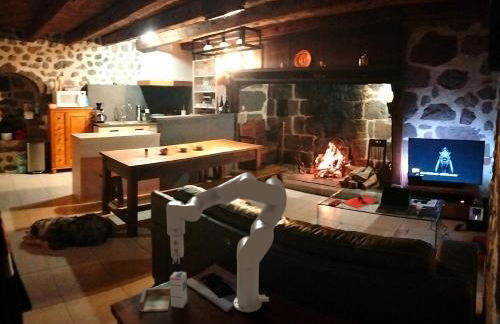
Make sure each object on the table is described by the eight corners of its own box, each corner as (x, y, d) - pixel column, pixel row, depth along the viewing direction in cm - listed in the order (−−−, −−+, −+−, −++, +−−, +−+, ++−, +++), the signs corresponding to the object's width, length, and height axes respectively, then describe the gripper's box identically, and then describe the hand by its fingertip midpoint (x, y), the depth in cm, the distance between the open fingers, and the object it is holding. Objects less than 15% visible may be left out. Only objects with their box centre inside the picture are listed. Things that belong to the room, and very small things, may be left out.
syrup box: (183, 308, 178) (182, 278, 175) (170, 306, 179) (169, 276, 176) (187, 301, 183) (187, 271, 180) (175, 299, 184) (174, 270, 181)
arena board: (170, 295, 187) (170, 287, 186) (168, 310, 176) (167, 301, 175) (144, 296, 186) (143, 288, 185) (139, 311, 175) (139, 302, 174)
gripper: (183, 237, 165) (185, 275, 169) (186, 222, 182) (187, 257, 186) (165, 238, 165) (166, 276, 168) (169, 222, 181) (170, 258, 185)
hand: (177, 266), depth 177 cm, fingers open, 9 cm apart
